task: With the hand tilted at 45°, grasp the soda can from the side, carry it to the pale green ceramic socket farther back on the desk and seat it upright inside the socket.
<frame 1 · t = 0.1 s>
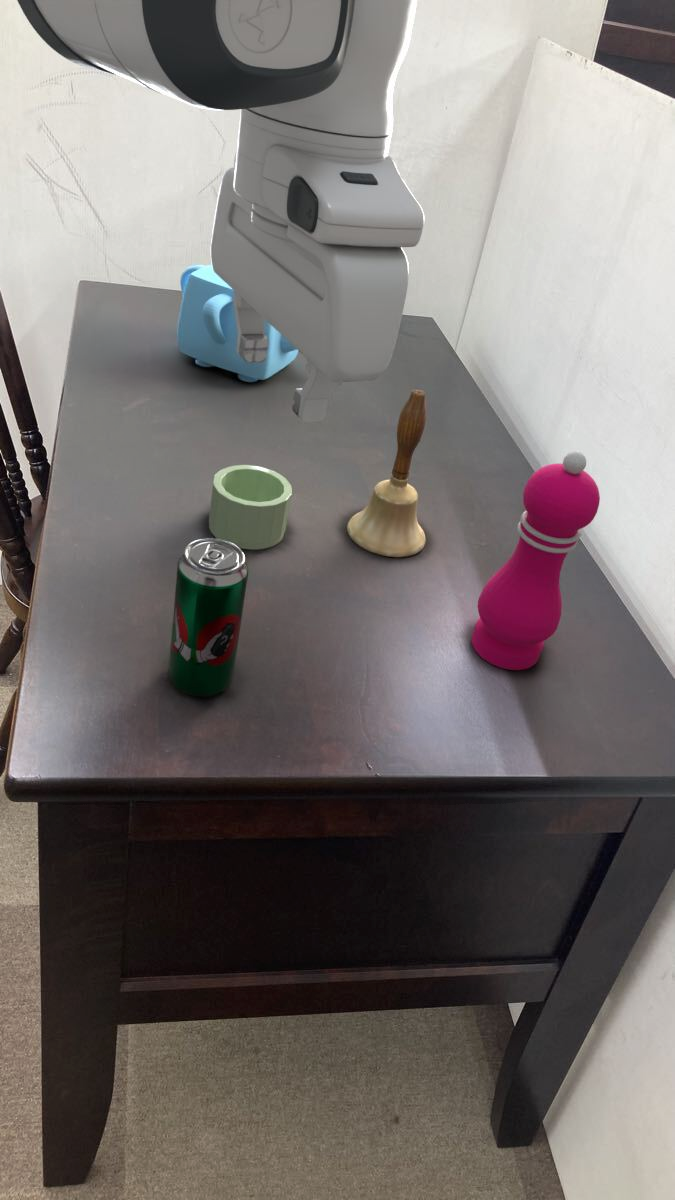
hand: (277, 387, 62), 23 cm above the table, tool pointing down, fingers open, 8 cm apart
soda can: (200, 680, 71), on the table
hand bell: (385, 536, 93), on the table
pepper mill: (503, 649, 81), on the table
teapot: (248, 368, 121), on the table
socket: (246, 528, 89), on the table
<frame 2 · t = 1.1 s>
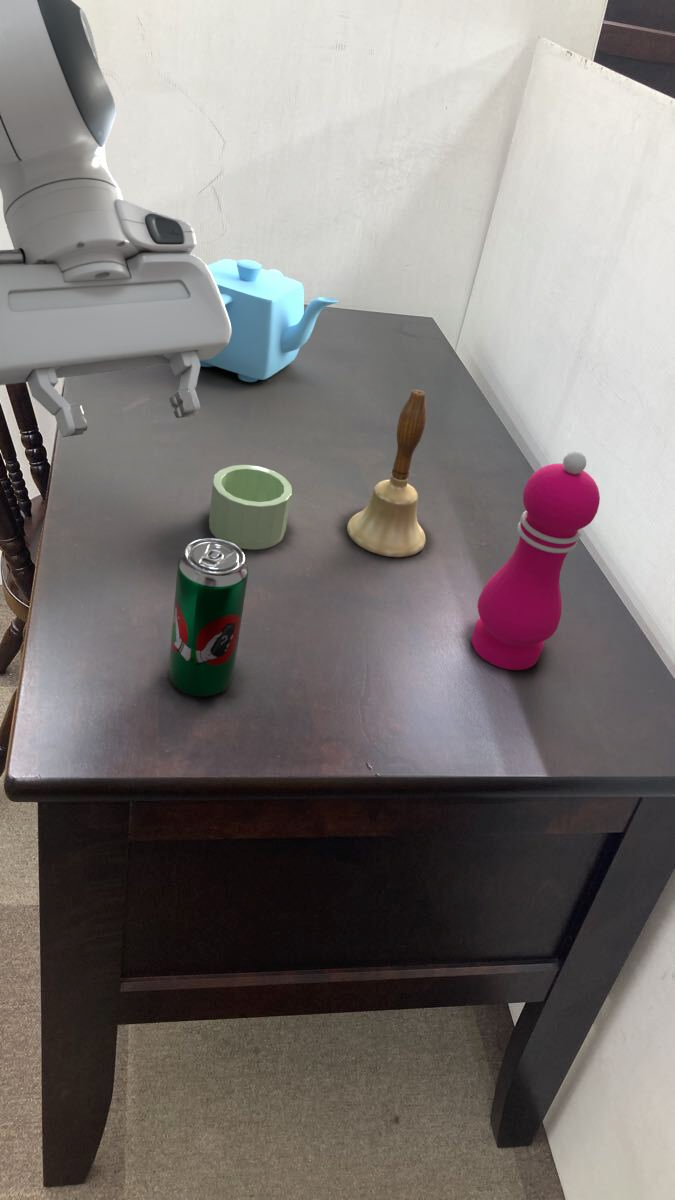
hand: (134, 424, 67), 17 cm above the table, tool tilted 45°, fingers open, 8 cm apart
nothing on the table moved.
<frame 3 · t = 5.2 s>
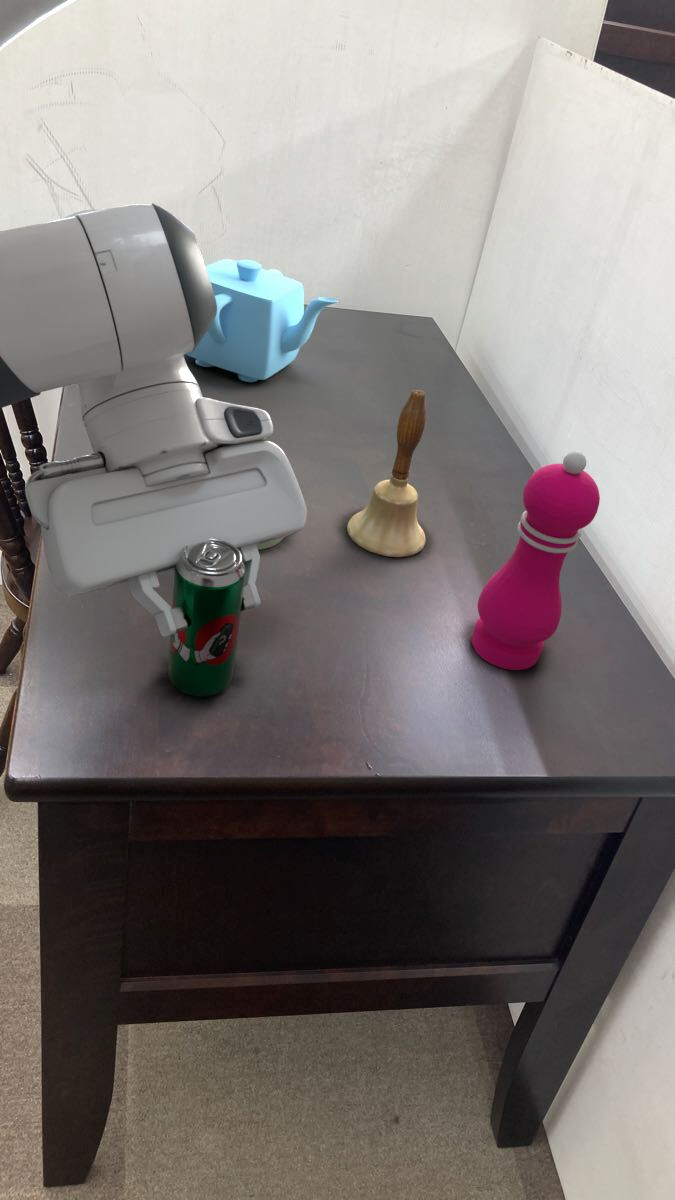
hand: (213, 621, 66), 7 cm above the table, tool tilted 45°, fingers closed on soda can, 5 cm apart
soda can: (200, 679, 71), on the table, touching gripper
everything else where it was.
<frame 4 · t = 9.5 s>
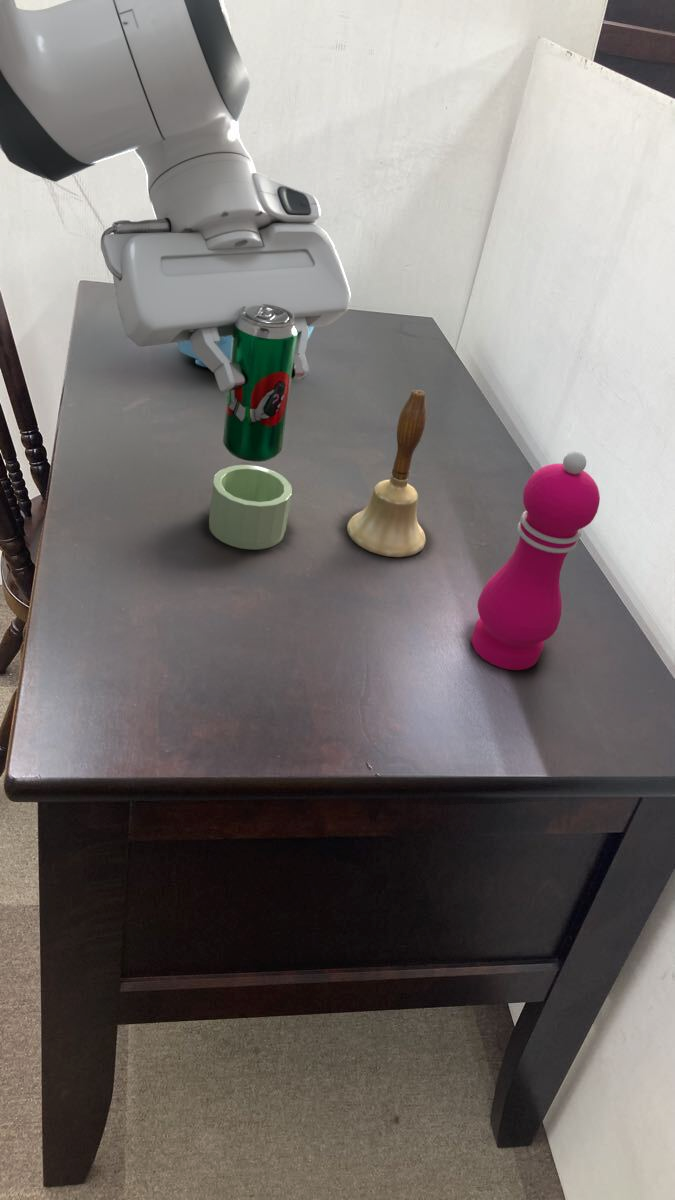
hand: (267, 383, 72), 19 cm above the table, tool tilted 45°, fingers closed on soda can, 5 cm apart
soda can: (251, 451, 77), point 12 cm above the table, touching gripper
everything else where it was.
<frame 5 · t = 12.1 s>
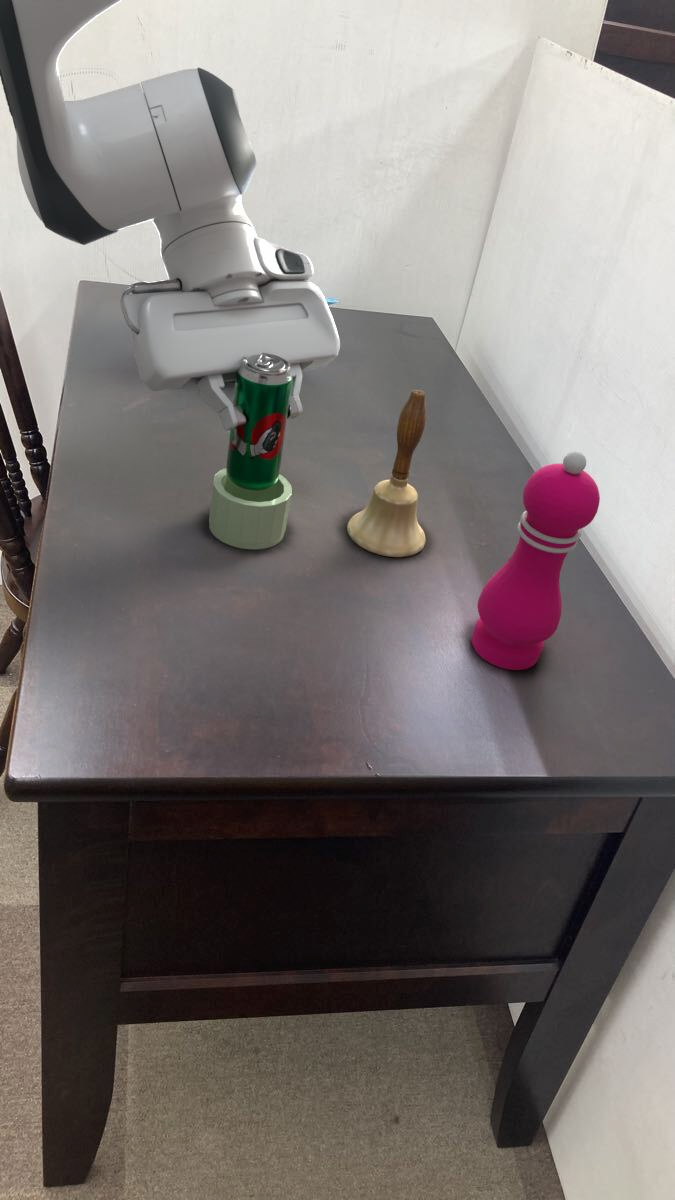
hand: (265, 422, 82), 12 cm above the table, tool tilted 45°, fingers closed on soda can, 5 cm apart
soda can: (251, 481, 86), point 5 cm above the table, touching gripper
everything else where it was.
when the fingers open (7 cm above the table, at t = 13.9 s): soda can stays where it is, resting on socket.
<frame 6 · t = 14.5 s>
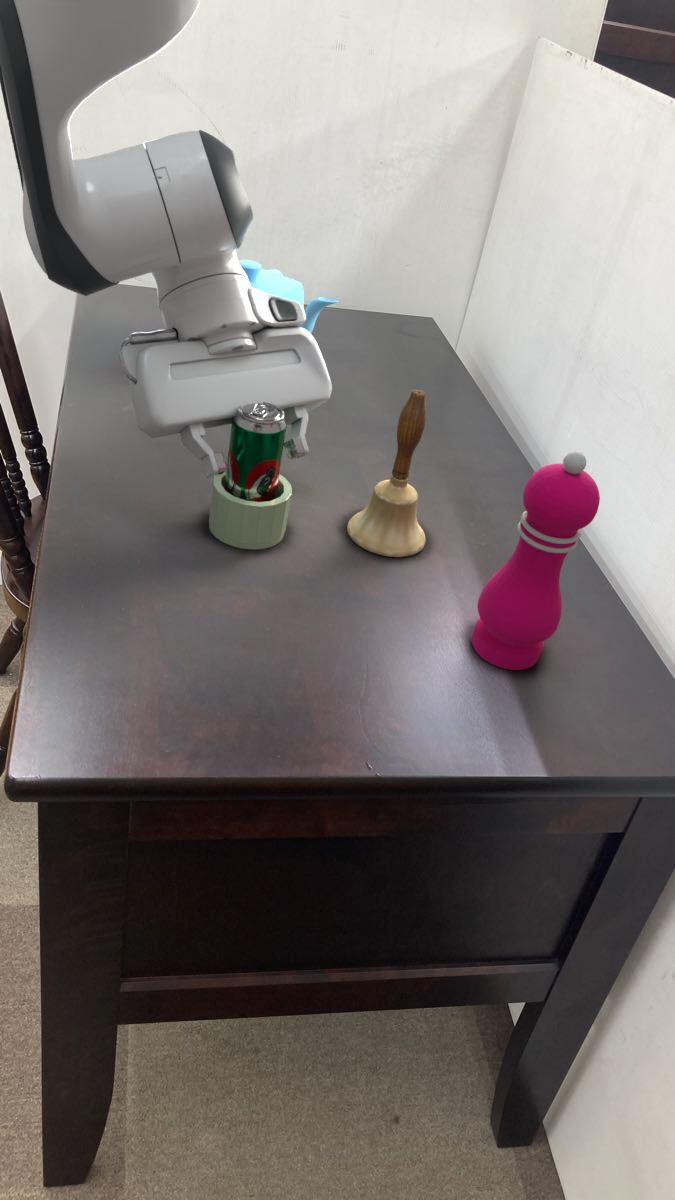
hand: (259, 465, 84), 7 cm above the table, tool tilted 45°, fingers open, 8 cm apart
soda can: (245, 522, 89), resting on socket
everything else where it was.
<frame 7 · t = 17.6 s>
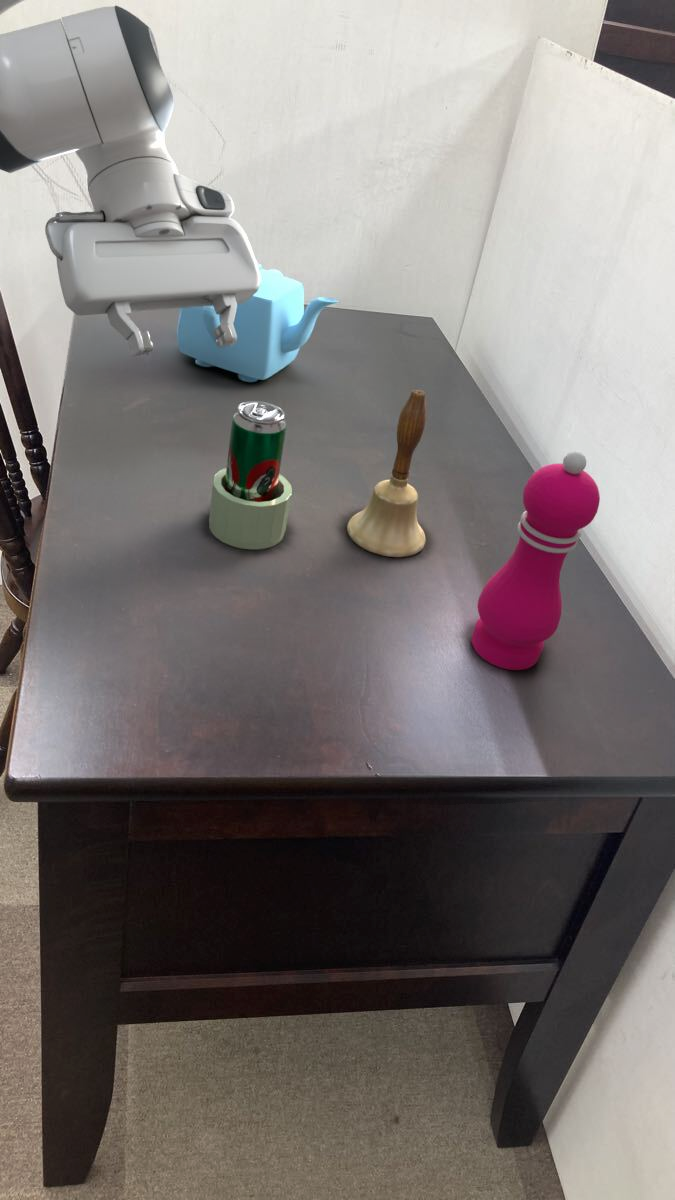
hand: (187, 348, 86), 14 cm above the table, tool tilted 45°, fingers open, 8 cm apart
nothing on the table moved.
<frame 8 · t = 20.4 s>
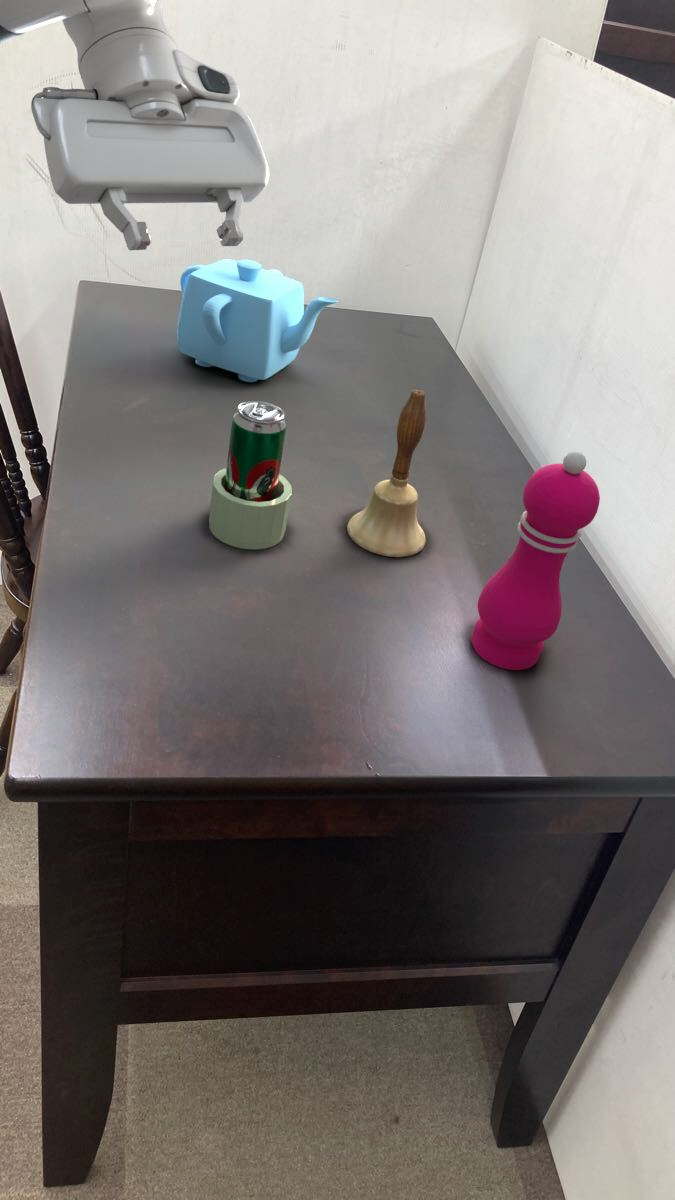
hand: (188, 245, 79), 24 cm above the table, tool tilted 45°, fingers open, 8 cm apart
nothing on the table moved.
at the end: soda can 0.4 cm off-centre in the socket, point 0.4 cm above the socket's base; soda can tilted 0°; the gripper is holding nothing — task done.
